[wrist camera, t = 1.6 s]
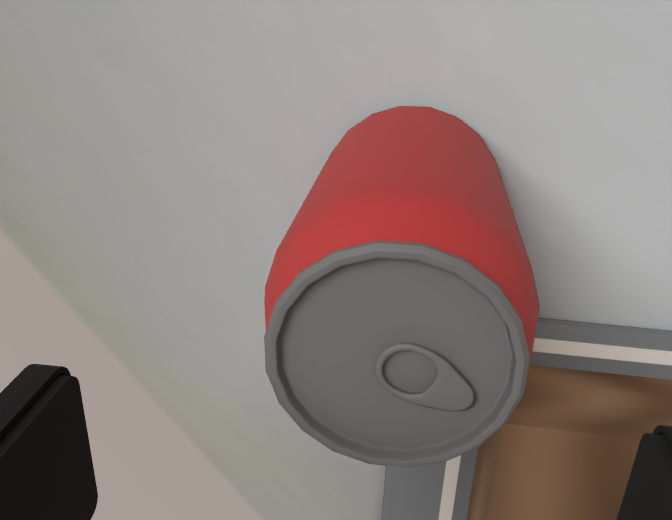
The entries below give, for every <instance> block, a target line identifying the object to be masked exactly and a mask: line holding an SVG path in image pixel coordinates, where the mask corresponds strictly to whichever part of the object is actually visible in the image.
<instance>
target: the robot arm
mask: <svg viewBox="0 0 672 520" xmlns="http://www.w3.org/2000/svg"><path fill="white" fill-rule="evenodd" d="M97 498H98V494H97V487H96V481H95V475H94V469H93V463H92V457H91V451H90V445H89V439H88V433H87V427H86V421H85V415H84V409H83V403H82V397H81V391H80V385H79V381H78V379H77V378H76V377H74V376H71V375H70V373H69V371H68V369H67V368H65V367H60V366H51V365H40V364H31V365H29V366H27V367H26V368H25V369H24V370H23V371H22V372H21V373H20V374H19V375H18V376H17V377H16V378H15V379H14V380H13V381H12V382H11V383H10V384H9V385H8V386H7V387H6V388H5V389H4V390H3V391H2V392H1V393H0V520H90V519H91V518H92V516H93V514H94V511H95V509H96V504H97ZM617 520H672V426H667V425H658V426H657V427H656V428H655V429H654V431H653V433H644V435H643V436H642V438H641V440H640V443H639V447H638V450H637V453H636V457H635V460H634V463H633V467H632V470H631V473H630V477H629V480H628V483H627V486H626V490H625V493H624V496H623V500H622V503H621V506H620V510H619V513H618V516H617Z"/></svg>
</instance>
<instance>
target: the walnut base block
mask: <svg viewBox="0 0 672 520" xmlns="http://www.w3.org/2000/svg"><path fill="white" fill-rule="evenodd" d="M658 425H667V426H672V380H670V379H660V378H651V377H641V376H632V375H622V374H612V373H603V372H593V371H584V370H574V369H565V368H555V367H545V366H536V365H529V367H528V374H527V380H526V386H525V393H524V395H523V396H522V398H521V400H520V401H519V403H518V405H517V407H516V408H515V410H514V412H513V413H512V415H511V417H510V419H509V420H508V422H507V424H506V425H504V426H503V427H502V428H501V429H500V430H499V431H497V432H496V433H495V434H494V435H493V436H491V437H490V438H489V439H488V440H487V441H486V442H484V443H483V444H482V445H481V446H480V447H478V453H477V459H476V465H475V471H474V477H473V483H472V489H471V495H470V501H469V507H468V513H467V519H466V520H617V516H618V513H619V510H620V506H621V503H622V500H623V496H624V493H625V490H626V486H627V483H628V480H629V477H630V473H631V470H632V467H633V463H634V460H635V457H636V453H637V450H638V447H639V443H640V440H641V438H642V436H643V435H644V433H653V431H654V429H655V428H656V427H657V426H658Z"/></svg>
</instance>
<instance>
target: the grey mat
mask: <svg viewBox="0 0 672 520" xmlns="http://www.w3.org/2000/svg"><path fill="white" fill-rule="evenodd" d="M529 365H536V366H545V367H555V368H565V369H574V370H584V371H593V372H603V373H612V374H622V375H632V376H641V377H651V378H660V379H670V380H672V331H667V330H657V329H646V328H636V327H625V326H615V325H605V324H594V323H584V322H573V321H563V320H553V319H542V318H538V320H537V326H536V332H535V339H534V345H533V351H532V358H531V360H530V362H529ZM477 453H478V448H476V449H474V450H471V451H469V452H467V453H464V454H462V455H460V456H458V457H455V458H453V459H451V460H448V461H446V462H442V463H435V464H428V465H421V466H414V467H407V468H406V467H396V466H386V473H385V485H384V496H383V507H382V519H381V520H466V519H467V513H468V507H469V501H470V495H471V489H472V483H473V477H474V471H475V465H476V459H477Z"/></svg>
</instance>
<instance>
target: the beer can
mask: <svg viewBox="0 0 672 520" xmlns="http://www.w3.org/2000/svg"><path fill="white" fill-rule="evenodd" d="M264 302H265V322H266V333H265V336H264V342H265V362H266V372H267V375H268V377H269V380H270V382H271V384H272V387H273V389H274V392H275V394H276V396H277V399H278V401H279V403H280V404H281V406H282V407H283V408H284V409H285V410H286V412H287V413H288V414H289V415H290V416H291V417H292V419H293V420H294V421H295V422H296V423H297V425H298V426H299V427H300V428H301V429H302V430H303V431H304V432H306V433H307V434H309V435H310V436H312V437H313V438H315V439H316V440H318V441H319V442H320V443H322V444H323V445H325V446H326V447H328V448H329V449H331V450H332V451H335V452H337V453H340V454H343V455H346V456H349V457H351V458H354V459H357V460H360V461H363V462H365V463H368V464H377V465H386V466H396V467H406V468H407V467H414V466H421V465H428V464H435V463H442V462H446V461H448V460H451V459H453V458H455V457H458V456H460V455H462V454H464V453H467V452H469V451H471V450H474V449H476V448H478V447H480V446H481V445H482V444H483V443H484V442H486V441H487V440H488V439H489V438H490V437H491V436H493V435H494V434H495V433H496V432H497V431H499V430H500V429H501V428H502V427H503V426H504V425H506V424H507V422H508V420H509V419H510V417H511V415H512V413H513V412H514V410H515V408H516V407H517V405H518V403H519V401H520V400H521V398H522V396H523V395H524V393H525V386H526V380H527V374H528V367H529V362H530V360H531V358H532V351H533V345H534V339H535V332H536V326H537V320H538V313H539V300H538V295H537V291H536V286H535V282H534V277H533V272H532V268H531V264H530V261H529V258H528V255H527V252H526V249H525V246H524V243H523V241H522V238H521V235H520V232H519V229H518V226H517V223H516V220H515V217H514V214H513V211H512V208H511V205H510V202H509V199H508V196H507V193H506V190H505V187H504V185H503V182H502V179H501V176H500V173H499V170H498V167H497V164H496V161H495V158H494V157H493V155H492V154H491V152H490V150H489V149H488V147H487V146H486V144H485V143H484V141H483V139H482V138H481V136H480V135H479V134H478V133H477V132H475V131H474V130H473V129H472V128H470V127H469V126H468V125H467V124H465V123H464V122H463V121H462V120H460V119H459V118H458V117H456V116H453V115H450V114H448V113H445V112H442V111H439V110H437V109H434V108H431V107H415V106H398V107H395V108H392V109H388V110H385V111H381V112H378V113H374V114H372V115H370V116H369V117H367V118H366V119H364V120H363V121H361V122H360V123H358V124H357V125H356V126H354V127H353V128H351V129H350V130H348V132H347V133H346V134H345V136H344V137H343V138H342V140H341V141H340V142H339V143H338V145H337V146H336V147H335V149H334V150H333V151H332V153H331V155H330V156H329V158H328V160H327V162H326V164H325V165H324V167H323V169H322V171H321V172H320V174H319V176H318V178H317V180H316V181H315V183H314V185H313V187H312V188H311V190H310V192H309V194H308V196H307V197H306V199H305V201H304V203H303V205H302V206H301V208H300V210H299V212H298V213H297V215H296V217H295V219H294V221H293V222H292V224H291V226H290V228H289V229H288V231H287V233H286V235H285V237H284V238H283V240H282V242H281V244H280V245H279V247H278V249H277V251H276V254H275V258H274V261H273V264H272V267H271V270H270V273H269V277H268V280H267V283H266V286H265V301H264Z"/></svg>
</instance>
